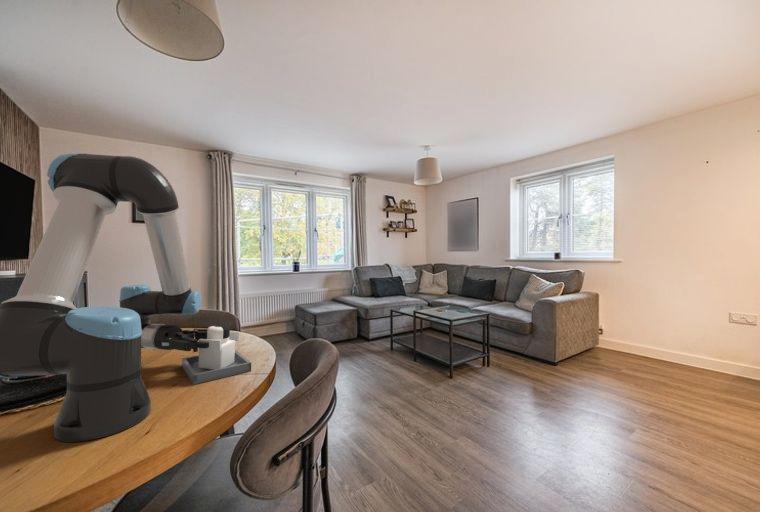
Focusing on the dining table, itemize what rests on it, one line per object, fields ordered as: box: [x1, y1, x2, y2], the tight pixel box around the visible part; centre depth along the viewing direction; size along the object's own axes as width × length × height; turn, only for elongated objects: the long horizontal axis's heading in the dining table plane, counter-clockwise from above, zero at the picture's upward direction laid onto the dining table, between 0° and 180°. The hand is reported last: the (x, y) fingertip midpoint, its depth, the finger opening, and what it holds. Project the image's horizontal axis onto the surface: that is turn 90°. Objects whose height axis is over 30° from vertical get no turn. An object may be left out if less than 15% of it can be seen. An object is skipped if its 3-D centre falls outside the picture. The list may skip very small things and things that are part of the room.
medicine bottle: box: [198, 323, 236, 370], centre depth 94 cm, size 7×7×12 cm
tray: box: [181, 349, 252, 385], centre depth 95 cm, size 17×15×2 cm
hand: (230, 340), depth 94 cm, fingers open, 8 cm apart
